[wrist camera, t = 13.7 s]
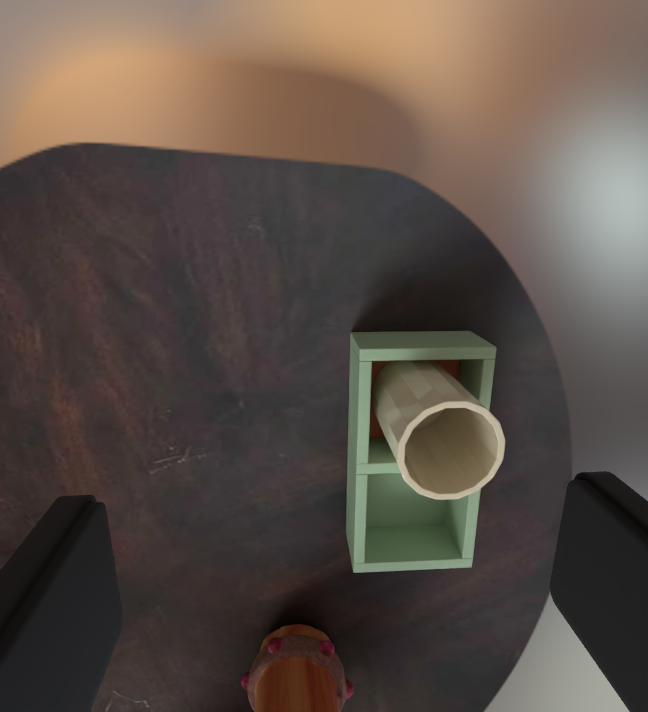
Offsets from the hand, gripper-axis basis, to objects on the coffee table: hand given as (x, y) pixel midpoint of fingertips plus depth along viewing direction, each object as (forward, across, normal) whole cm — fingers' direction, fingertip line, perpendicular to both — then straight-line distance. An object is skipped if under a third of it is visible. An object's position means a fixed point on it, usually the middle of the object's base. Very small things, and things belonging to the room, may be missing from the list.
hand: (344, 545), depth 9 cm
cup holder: (+24, -8, +10) cm, 27 cm away
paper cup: (+24, -8, +6) cm, 26 cm away
